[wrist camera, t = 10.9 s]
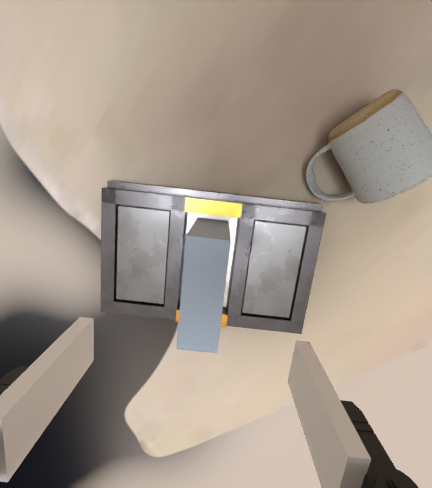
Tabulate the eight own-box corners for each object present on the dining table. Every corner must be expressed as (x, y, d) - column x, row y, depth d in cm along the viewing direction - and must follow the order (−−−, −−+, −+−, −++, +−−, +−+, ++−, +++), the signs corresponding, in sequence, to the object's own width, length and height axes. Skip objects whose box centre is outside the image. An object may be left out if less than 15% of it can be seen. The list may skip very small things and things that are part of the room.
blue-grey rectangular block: (197, 217, 31) (185, 235, 21) (228, 220, 31) (231, 240, 21) (189, 298, 33) (176, 348, 23) (218, 301, 33) (216, 353, 23)
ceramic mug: (373, 96, 29) (424, 68, 21) (409, 161, 30) (470, 157, 23) (287, 159, 30) (307, 153, 23) (325, 217, 32) (355, 230, 24)
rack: (111, 180, 31) (100, 180, 28) (319, 203, 31) (328, 206, 29) (109, 307, 35) (99, 318, 32) (294, 328, 35) (300, 340, 32)
